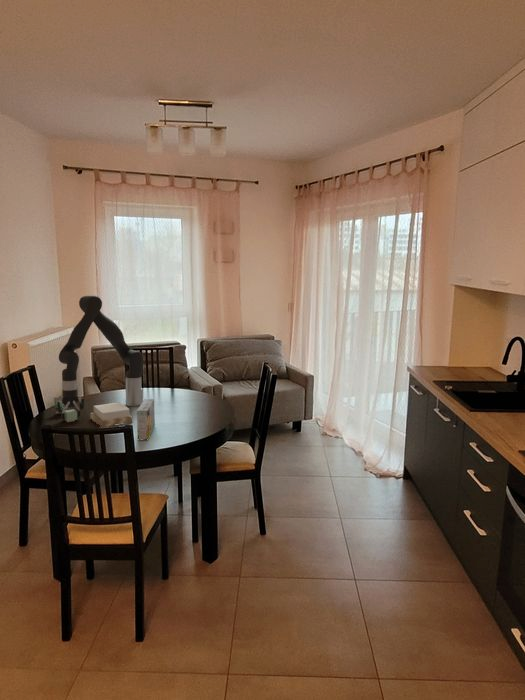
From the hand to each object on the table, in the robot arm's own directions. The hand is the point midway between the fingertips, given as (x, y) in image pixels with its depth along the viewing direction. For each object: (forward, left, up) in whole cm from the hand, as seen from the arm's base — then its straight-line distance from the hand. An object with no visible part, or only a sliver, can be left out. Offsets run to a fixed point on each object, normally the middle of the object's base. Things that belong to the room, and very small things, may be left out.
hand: (70, 418), depth 241 cm
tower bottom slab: (-17, +13, -2) cm, 21 cm away
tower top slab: (-17, +13, +2) cm, 22 cm away
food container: (-2, -15, -1) cm, 15 cm away
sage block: (0, 0, -1) cm, 1 cm away
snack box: (-24, +41, -1) cm, 48 cm away
